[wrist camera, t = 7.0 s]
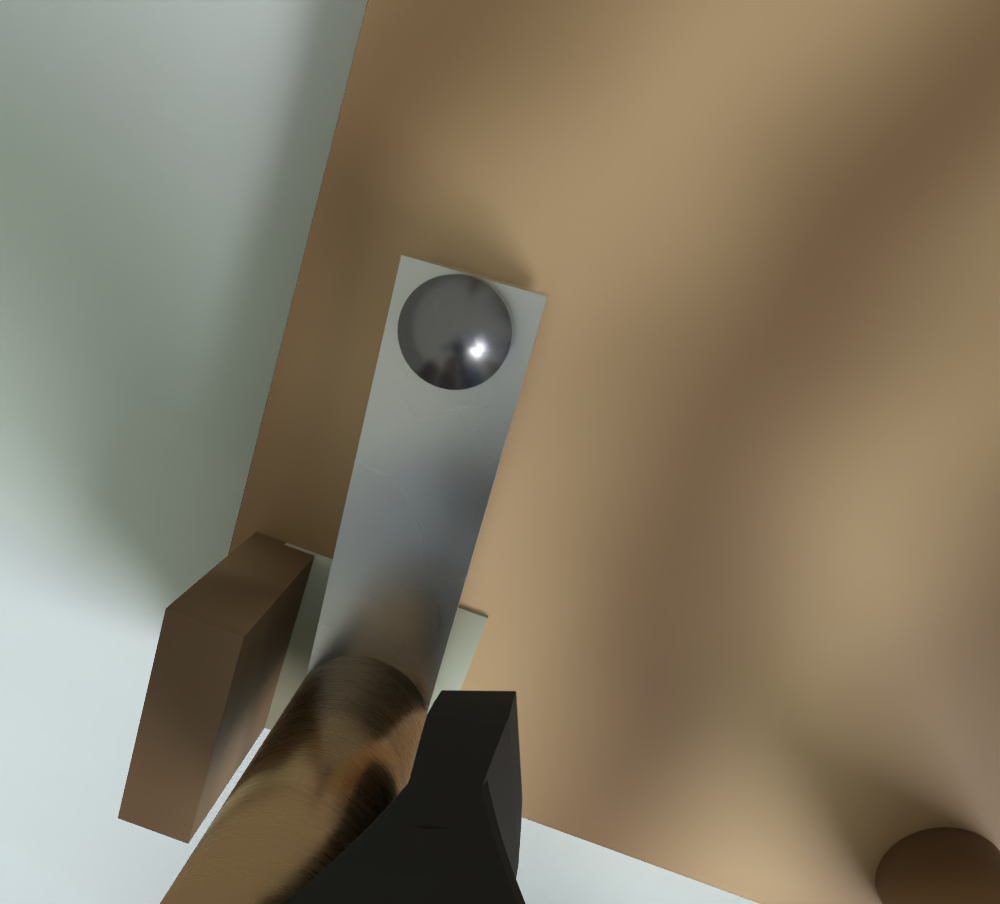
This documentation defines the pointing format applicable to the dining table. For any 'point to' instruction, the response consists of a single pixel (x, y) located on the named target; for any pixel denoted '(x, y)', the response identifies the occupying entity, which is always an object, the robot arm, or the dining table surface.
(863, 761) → the stool seat
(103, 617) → the dining table surface
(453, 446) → the hinged leg
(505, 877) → the robot arm
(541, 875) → the dining table surface
